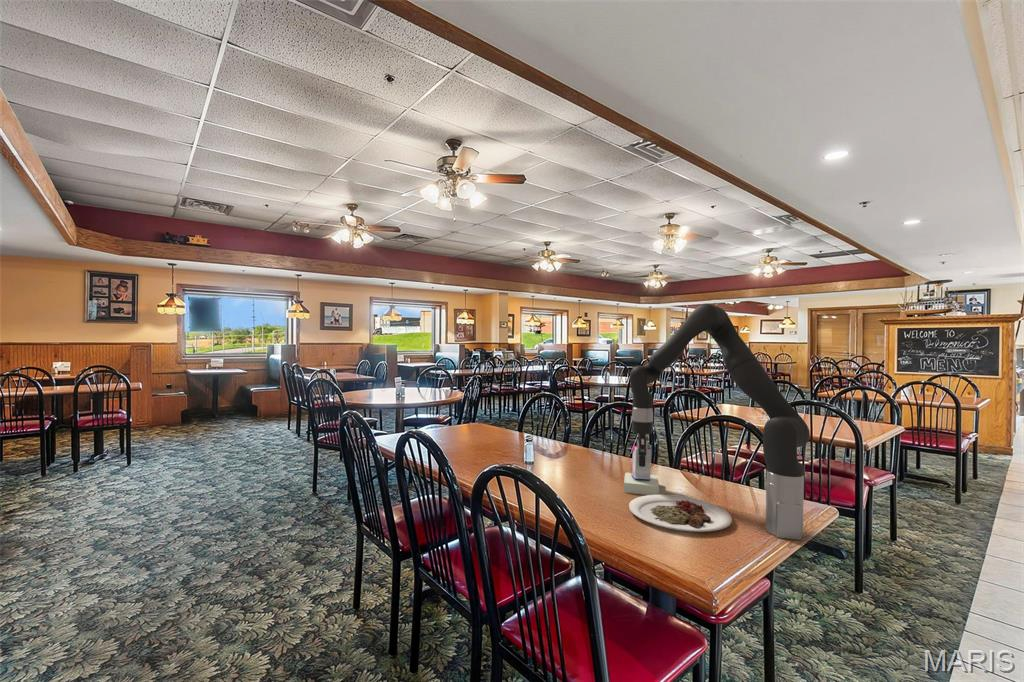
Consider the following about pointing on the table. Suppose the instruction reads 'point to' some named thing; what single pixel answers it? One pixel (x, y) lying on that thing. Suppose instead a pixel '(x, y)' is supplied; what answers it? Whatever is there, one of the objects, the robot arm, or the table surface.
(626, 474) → the sage block
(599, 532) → the table surface
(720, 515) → the plated food
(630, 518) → the table surface
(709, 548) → the table surface
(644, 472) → the supplement box
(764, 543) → the table surface
